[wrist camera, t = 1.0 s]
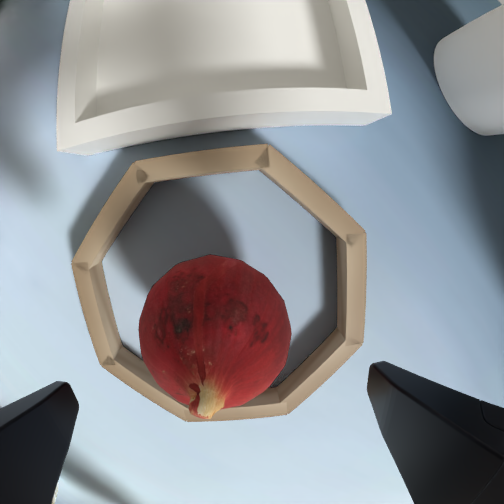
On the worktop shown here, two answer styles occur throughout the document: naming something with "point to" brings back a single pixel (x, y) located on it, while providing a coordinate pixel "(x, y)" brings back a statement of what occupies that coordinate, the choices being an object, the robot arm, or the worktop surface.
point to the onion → (214, 333)
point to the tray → (213, 69)
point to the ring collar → (210, 163)
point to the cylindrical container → (474, 72)
